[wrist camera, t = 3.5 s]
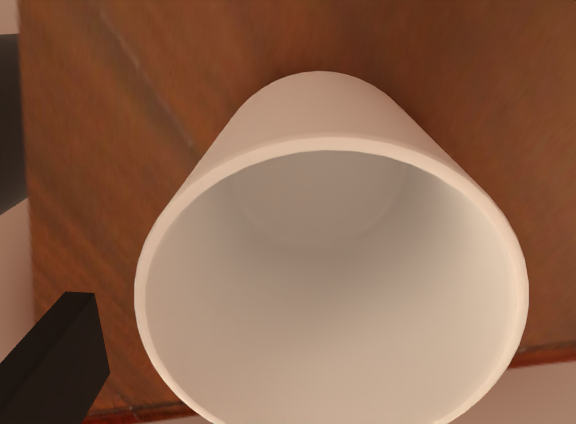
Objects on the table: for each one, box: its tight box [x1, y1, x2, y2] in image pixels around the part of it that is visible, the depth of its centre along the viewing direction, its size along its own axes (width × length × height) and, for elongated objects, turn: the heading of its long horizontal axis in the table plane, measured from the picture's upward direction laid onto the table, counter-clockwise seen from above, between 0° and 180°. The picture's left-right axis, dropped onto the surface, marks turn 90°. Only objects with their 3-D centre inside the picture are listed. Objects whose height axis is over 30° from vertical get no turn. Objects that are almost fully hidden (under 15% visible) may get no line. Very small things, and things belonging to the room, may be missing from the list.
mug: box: [134, 71, 529, 424], centre depth 14 cm, size 12×8×10 cm
